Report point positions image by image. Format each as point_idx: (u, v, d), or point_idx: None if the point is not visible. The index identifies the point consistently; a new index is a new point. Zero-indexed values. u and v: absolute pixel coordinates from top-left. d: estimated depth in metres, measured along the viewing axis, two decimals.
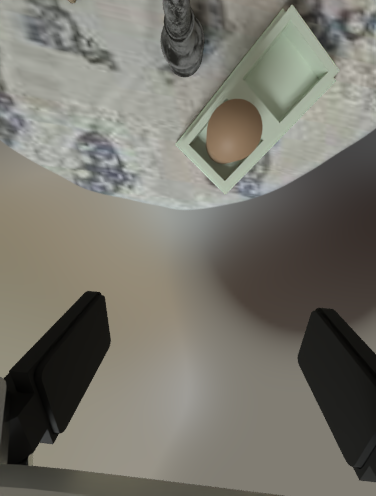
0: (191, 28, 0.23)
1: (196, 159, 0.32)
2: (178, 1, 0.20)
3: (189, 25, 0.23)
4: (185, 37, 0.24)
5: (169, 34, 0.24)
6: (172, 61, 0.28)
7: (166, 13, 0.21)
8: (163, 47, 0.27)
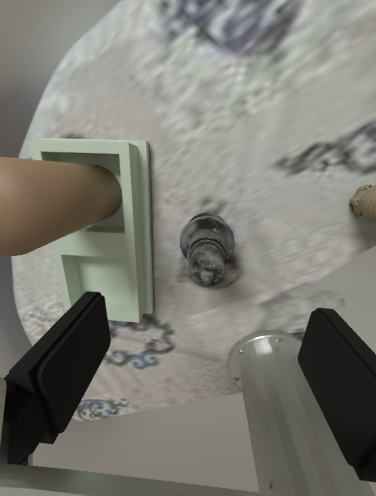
0: (189, 260, 0.18)
1: (94, 144, 0.19)
2: (200, 275, 0.15)
3: None
4: (190, 250, 0.18)
5: (209, 240, 0.18)
6: (204, 220, 0.21)
7: (210, 256, 0.15)
8: (221, 224, 0.21)
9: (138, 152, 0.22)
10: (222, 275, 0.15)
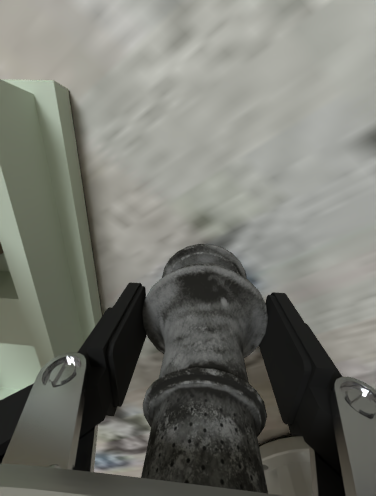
0: (151, 424, 0.06)
1: None
2: None
3: None
4: (150, 402, 0.06)
5: (210, 380, 0.05)
6: (196, 276, 0.08)
7: None
8: (240, 286, 0.08)
9: (39, 112, 0.09)
10: None
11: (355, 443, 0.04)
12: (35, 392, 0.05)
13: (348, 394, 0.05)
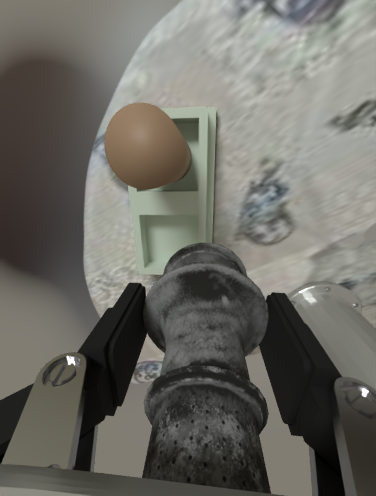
0: (152, 422, 0.06)
1: (177, 110, 0.23)
2: None
3: None
4: (151, 400, 0.06)
5: (212, 377, 0.05)
6: (197, 274, 0.08)
7: None
8: (241, 284, 0.08)
9: (208, 119, 0.25)
10: None
11: (355, 443, 0.04)
12: (35, 392, 0.05)
13: (348, 394, 0.05)
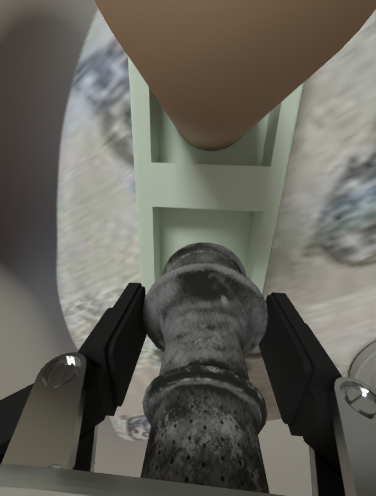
0: (150, 422, 0.06)
1: None
2: None
3: None
4: (150, 400, 0.06)
5: (211, 377, 0.05)
6: (196, 274, 0.08)
7: None
8: (240, 284, 0.08)
9: None
10: None
11: (355, 443, 0.04)
12: (35, 392, 0.05)
13: (348, 394, 0.05)
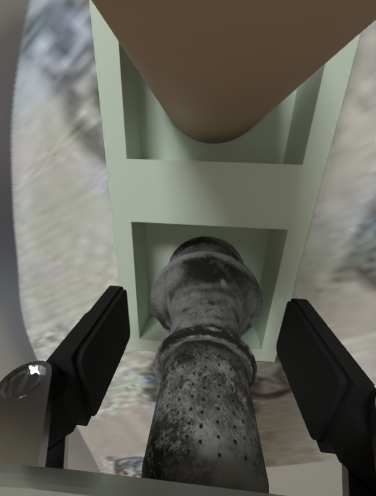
0: (161, 376, 0.07)
1: None
2: None
3: None
4: (161, 355, 0.07)
5: (210, 335, 0.06)
6: (199, 260, 0.10)
7: (216, 464, 0.04)
8: (237, 269, 0.10)
9: None
10: None
11: None
12: None
13: None
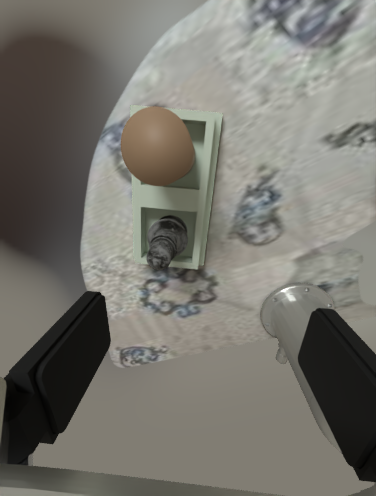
0: None
1: (187, 112, 0.24)
2: (152, 261, 0.22)
3: None
4: (150, 243, 0.25)
5: (164, 237, 0.25)
6: (165, 221, 0.28)
7: (160, 248, 0.22)
8: (178, 225, 0.28)
9: (214, 123, 0.26)
10: (168, 262, 0.22)
11: None
12: None
13: None
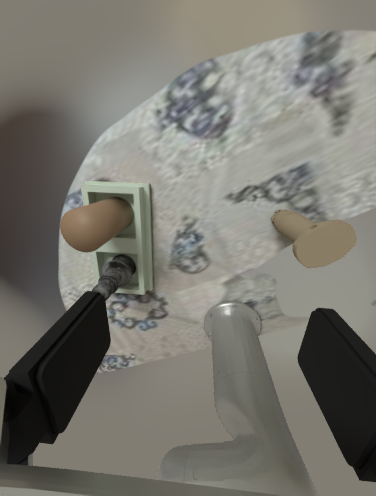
0: None
1: (119, 188, 0.34)
2: None
3: None
4: (98, 281, 0.35)
5: (107, 276, 0.34)
6: (113, 262, 0.38)
7: (99, 287, 0.32)
8: (123, 264, 0.38)
9: (143, 190, 0.36)
10: (106, 296, 0.32)
11: None
12: None
13: None
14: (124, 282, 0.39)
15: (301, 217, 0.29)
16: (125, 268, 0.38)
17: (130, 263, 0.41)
